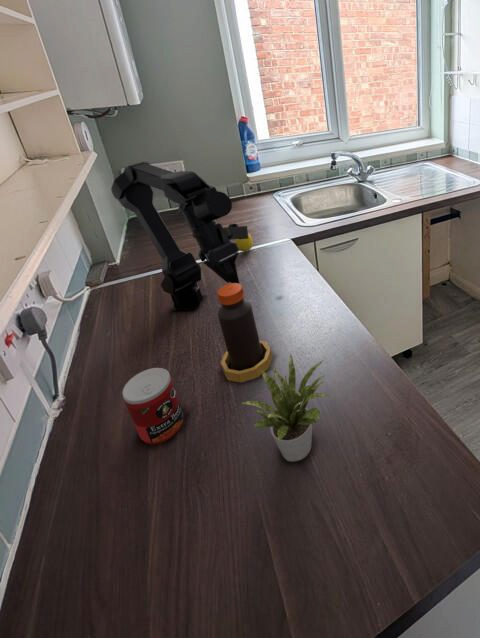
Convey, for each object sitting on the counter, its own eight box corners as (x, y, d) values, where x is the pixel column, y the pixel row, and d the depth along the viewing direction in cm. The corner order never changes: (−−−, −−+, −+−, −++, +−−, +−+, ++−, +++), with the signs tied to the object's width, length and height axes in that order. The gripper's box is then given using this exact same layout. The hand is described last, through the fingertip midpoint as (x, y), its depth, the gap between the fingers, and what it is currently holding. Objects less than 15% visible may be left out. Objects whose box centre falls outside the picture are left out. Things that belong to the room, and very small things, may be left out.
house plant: (354, 418, 76) (346, 350, 70) (328, 493, 63) (315, 419, 57) (285, 407, 79) (271, 341, 73) (247, 476, 67) (227, 404, 60)
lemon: (234, 254, 139) (229, 234, 136) (245, 247, 144) (241, 227, 140) (247, 257, 137) (242, 236, 134) (257, 249, 141) (253, 229, 138)
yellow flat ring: (217, 384, 86) (214, 375, 85) (233, 349, 95) (230, 340, 94) (264, 381, 86) (262, 372, 85) (275, 346, 95) (274, 337, 94)
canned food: (155, 453, 72) (136, 408, 67) (131, 433, 76) (112, 389, 71) (193, 420, 78) (178, 377, 73) (169, 403, 82) (154, 361, 77)
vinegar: (231, 359, 92) (211, 285, 85) (261, 349, 95) (245, 277, 87) (233, 379, 86) (212, 302, 79) (265, 369, 89) (248, 293, 81)
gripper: (244, 207, 90) (274, 269, 92) (228, 213, 106) (254, 265, 108) (194, 229, 84) (228, 294, 87) (186, 231, 100) (214, 286, 103)
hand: (233, 283), depth 96 cm, fingers open, 9 cm apart
